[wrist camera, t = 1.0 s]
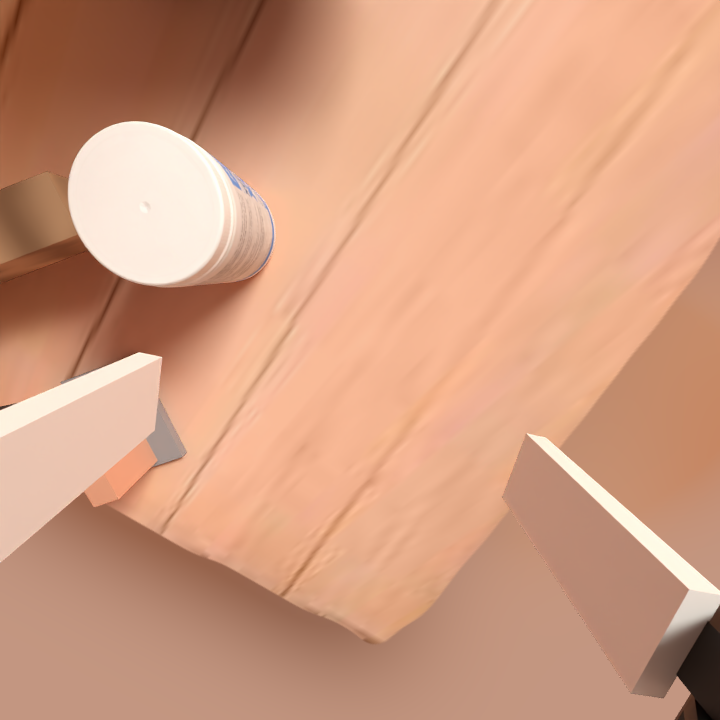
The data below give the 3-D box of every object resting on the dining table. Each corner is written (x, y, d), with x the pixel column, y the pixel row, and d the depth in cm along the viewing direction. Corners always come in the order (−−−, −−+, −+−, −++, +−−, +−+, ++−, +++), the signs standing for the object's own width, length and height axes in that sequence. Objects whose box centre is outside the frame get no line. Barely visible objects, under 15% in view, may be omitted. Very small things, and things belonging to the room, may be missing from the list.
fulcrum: (67, 379, 39) (-3, 406, 31) (136, 354, 38) (82, 375, 31) (122, 474, 41) (69, 521, 34) (186, 452, 41) (148, 494, 33)
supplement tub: (281, 188, 35) (234, 131, 21) (273, 288, 37) (226, 298, 23) (178, 173, 34) (57, 102, 20) (176, 275, 37) (65, 277, 22)
